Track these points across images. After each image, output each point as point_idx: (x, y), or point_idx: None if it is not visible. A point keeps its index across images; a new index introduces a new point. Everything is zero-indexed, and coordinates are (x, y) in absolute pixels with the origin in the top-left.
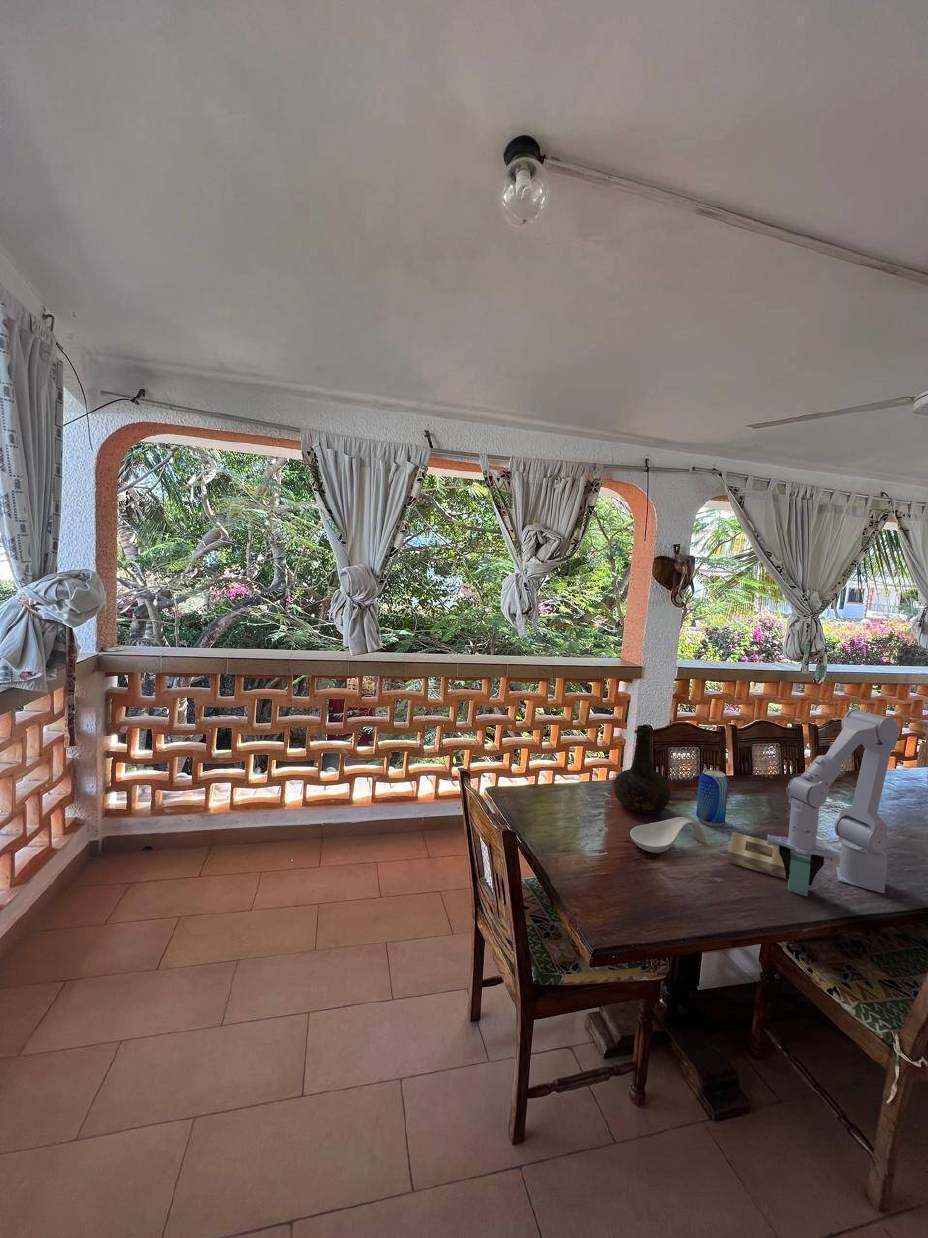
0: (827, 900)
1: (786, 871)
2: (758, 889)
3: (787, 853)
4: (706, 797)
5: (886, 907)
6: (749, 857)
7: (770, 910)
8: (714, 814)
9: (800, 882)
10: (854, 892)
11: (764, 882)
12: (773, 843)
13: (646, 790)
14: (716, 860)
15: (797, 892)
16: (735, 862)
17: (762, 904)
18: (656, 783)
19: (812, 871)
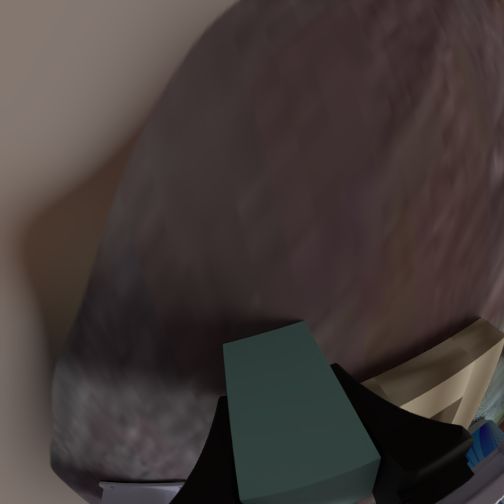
0: (155, 377)
1: (356, 386)
2: (407, 211)
3: (425, 476)
4: None
5: (58, 439)
6: (462, 369)
7: (320, 46)
8: (483, 446)
9: (267, 376)
10: (136, 462)
11: (394, 300)
12: (497, 460)
13: None
14: (500, 296)
15: (266, 336)
16: (470, 331)
17: (362, 75)
18: None
19: (220, 465)
